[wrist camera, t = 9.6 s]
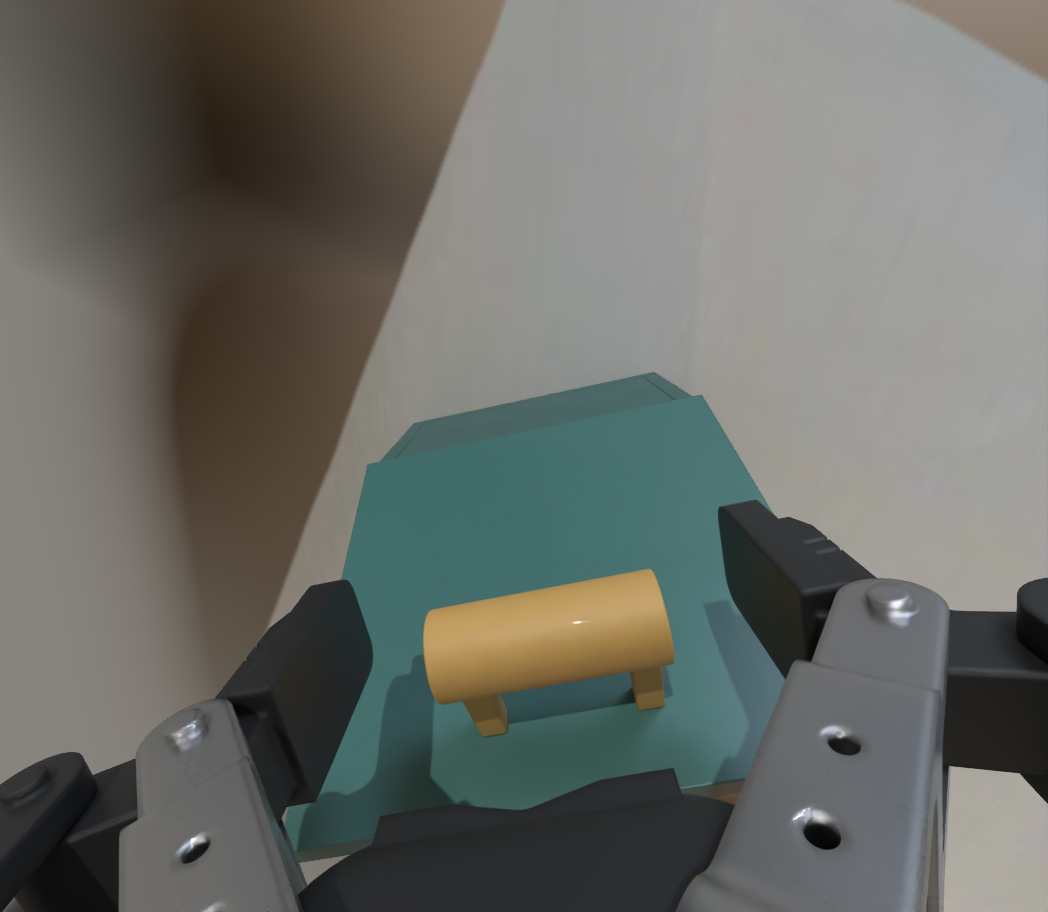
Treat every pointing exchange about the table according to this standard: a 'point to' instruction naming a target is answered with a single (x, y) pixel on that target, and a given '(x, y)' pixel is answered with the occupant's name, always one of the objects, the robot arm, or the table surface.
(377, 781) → the lid
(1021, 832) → the table surface
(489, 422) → the chest
